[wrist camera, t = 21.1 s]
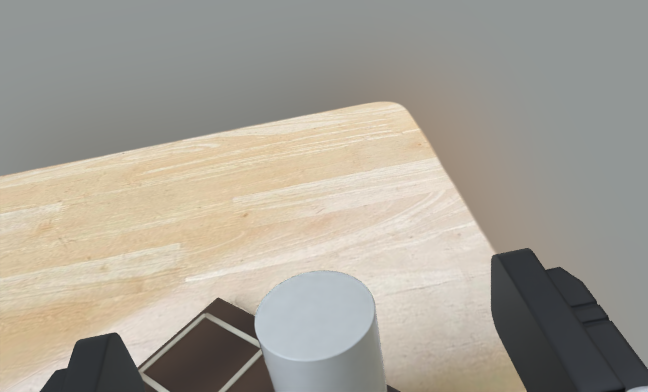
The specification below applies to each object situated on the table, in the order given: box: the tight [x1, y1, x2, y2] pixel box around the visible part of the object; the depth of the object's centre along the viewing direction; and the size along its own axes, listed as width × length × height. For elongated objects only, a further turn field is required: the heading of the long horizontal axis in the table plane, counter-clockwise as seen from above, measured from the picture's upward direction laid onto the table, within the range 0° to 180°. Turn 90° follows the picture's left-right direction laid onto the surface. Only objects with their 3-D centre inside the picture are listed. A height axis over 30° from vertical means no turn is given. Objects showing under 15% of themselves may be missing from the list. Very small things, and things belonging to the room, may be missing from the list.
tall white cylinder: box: [254, 271, 387, 392], centre depth 23 cm, size 4×4×9 cm
